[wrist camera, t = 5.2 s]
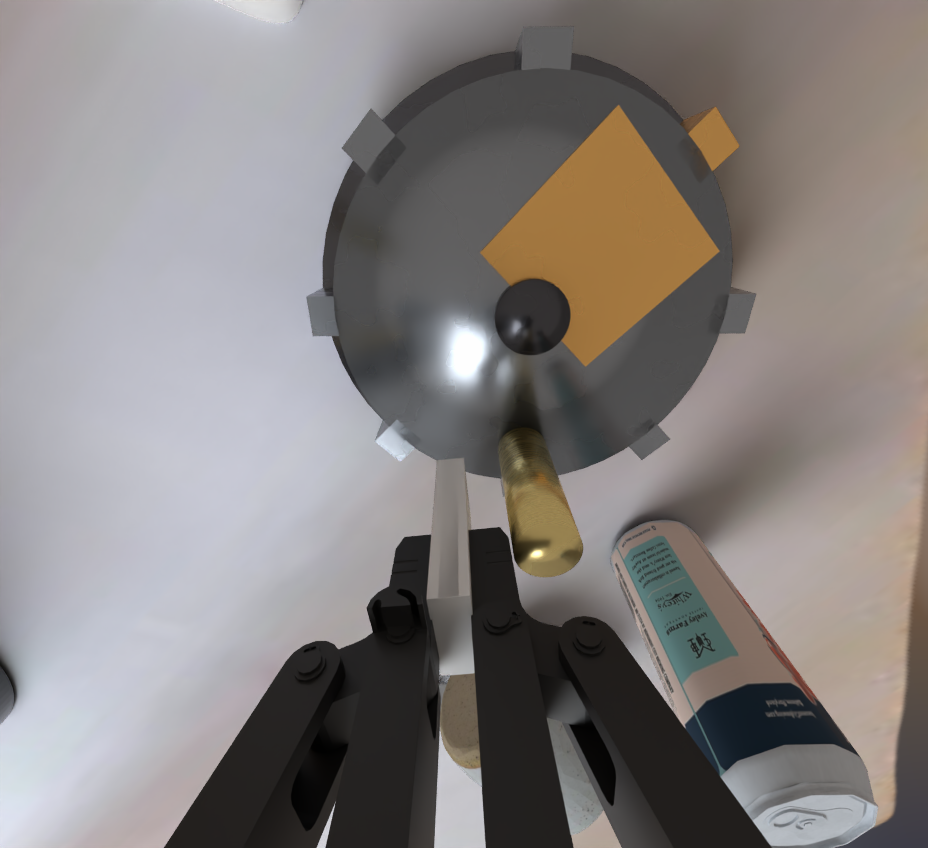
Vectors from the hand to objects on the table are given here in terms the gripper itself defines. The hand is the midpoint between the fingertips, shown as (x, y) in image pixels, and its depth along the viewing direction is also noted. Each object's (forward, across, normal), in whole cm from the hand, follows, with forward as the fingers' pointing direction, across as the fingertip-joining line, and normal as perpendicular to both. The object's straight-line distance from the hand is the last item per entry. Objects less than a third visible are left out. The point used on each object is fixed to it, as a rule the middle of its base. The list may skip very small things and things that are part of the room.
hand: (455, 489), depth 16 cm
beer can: (+5, +10, -8) cm, 14 cm away
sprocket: (+4, +3, +6) cm, 8 cm away
